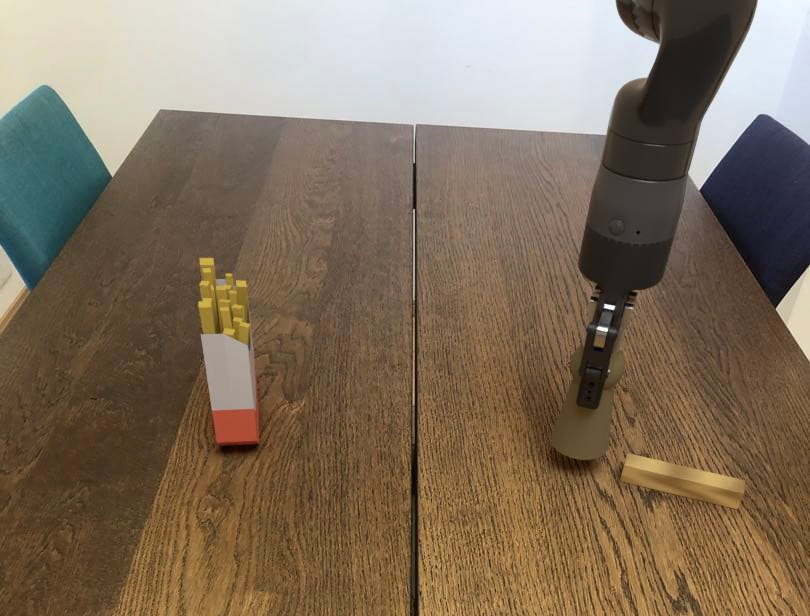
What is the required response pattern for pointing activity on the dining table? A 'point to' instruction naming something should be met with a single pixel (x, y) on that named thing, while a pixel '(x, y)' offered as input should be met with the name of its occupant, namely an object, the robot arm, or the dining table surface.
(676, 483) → the golden stick
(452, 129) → the dining table surface
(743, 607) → the dining table surface
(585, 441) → the olive pawn
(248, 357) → the french fries container
